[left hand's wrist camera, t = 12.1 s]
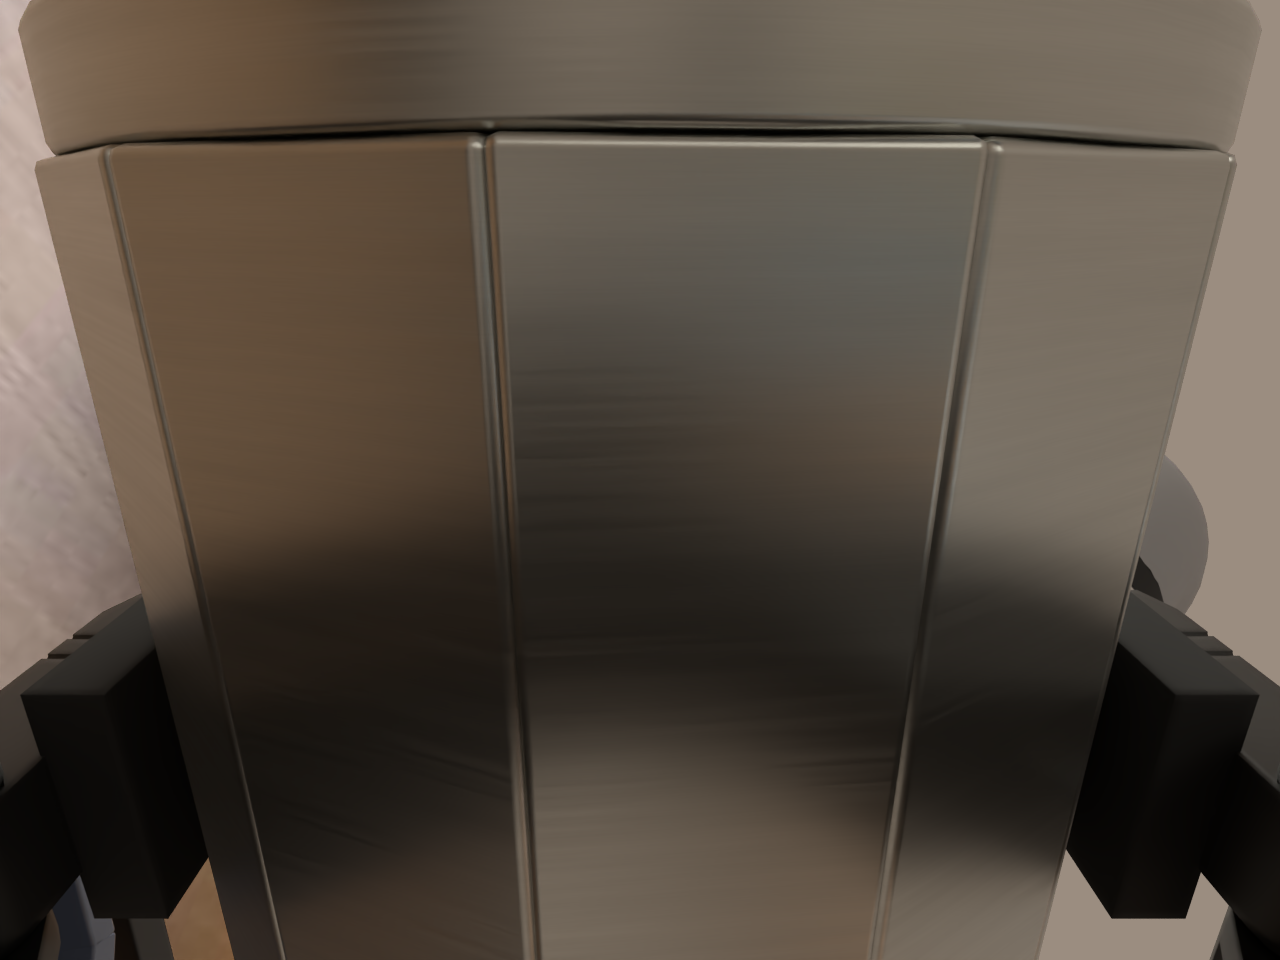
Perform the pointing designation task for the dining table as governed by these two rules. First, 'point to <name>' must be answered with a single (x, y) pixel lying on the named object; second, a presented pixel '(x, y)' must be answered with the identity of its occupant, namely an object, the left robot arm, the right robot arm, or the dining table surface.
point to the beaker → (636, 444)
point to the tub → (82, 928)
